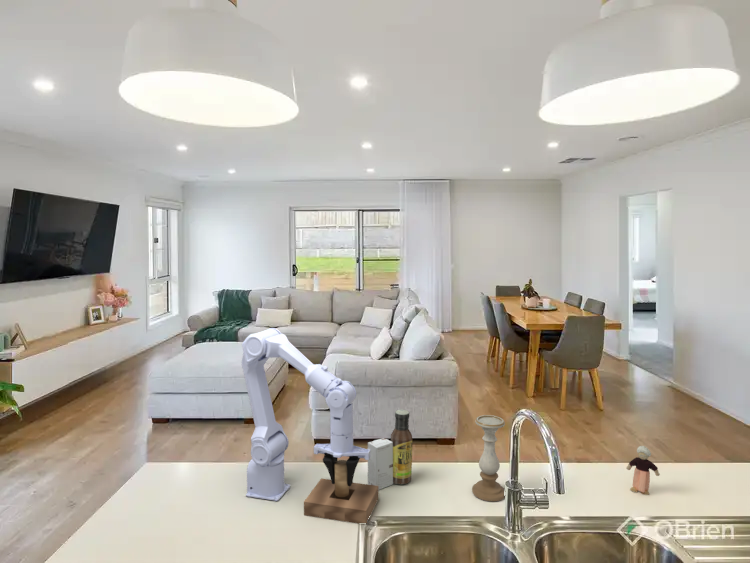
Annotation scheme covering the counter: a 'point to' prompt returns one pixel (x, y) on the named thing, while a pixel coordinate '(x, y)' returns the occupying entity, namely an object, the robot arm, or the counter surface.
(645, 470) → the grandmother figurine
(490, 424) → the candle holder
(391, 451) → the skincare box
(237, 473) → the counter surface
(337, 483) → the oak peg
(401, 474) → the sauce bottle
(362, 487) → the walnut board
